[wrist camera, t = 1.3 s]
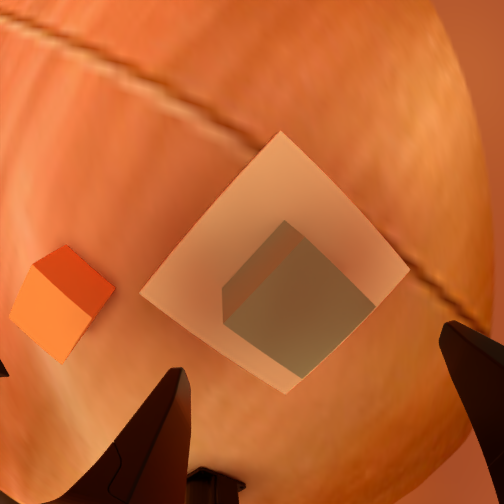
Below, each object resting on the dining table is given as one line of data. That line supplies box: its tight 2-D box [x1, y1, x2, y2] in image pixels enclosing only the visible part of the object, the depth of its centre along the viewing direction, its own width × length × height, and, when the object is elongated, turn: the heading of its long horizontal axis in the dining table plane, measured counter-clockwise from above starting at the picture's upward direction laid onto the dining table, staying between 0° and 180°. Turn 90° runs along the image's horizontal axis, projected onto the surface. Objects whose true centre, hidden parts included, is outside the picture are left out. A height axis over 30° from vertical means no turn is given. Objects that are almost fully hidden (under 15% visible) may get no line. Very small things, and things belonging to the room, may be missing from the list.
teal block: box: [222, 220, 376, 379], centre depth 18 cm, size 6×6×5 cm
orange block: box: [9, 245, 116, 364], centre depth 18 cm, size 5×5×5 cm
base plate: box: [139, 131, 410, 395], centre depth 21 cm, size 14×14×1 cm
